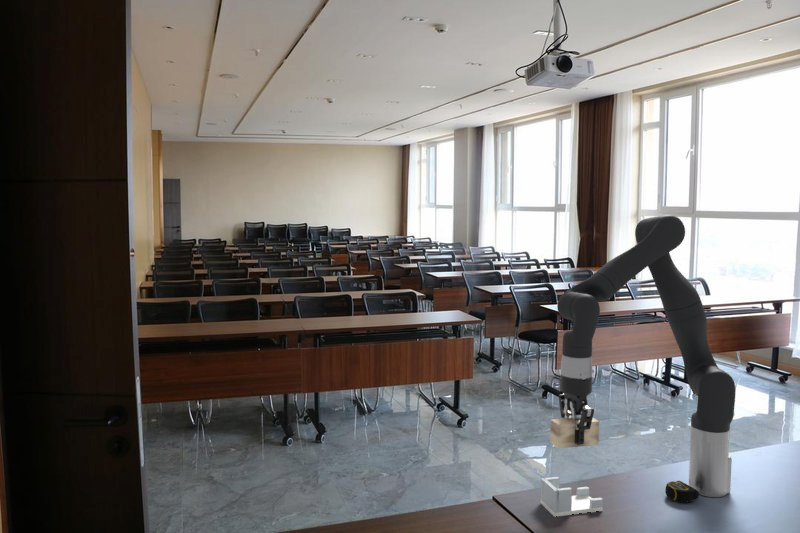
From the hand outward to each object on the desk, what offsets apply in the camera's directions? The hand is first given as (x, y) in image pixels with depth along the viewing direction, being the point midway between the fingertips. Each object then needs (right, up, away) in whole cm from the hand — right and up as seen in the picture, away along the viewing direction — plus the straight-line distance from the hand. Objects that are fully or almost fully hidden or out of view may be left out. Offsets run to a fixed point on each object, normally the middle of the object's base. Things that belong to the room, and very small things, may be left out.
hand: (574, 440), depth 158 cm
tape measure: (+29, -17, +6) cm, 34 cm away
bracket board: (0, -17, +1) cm, 17 cm away
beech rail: (0, -1, 0) cm, 1 cm away
